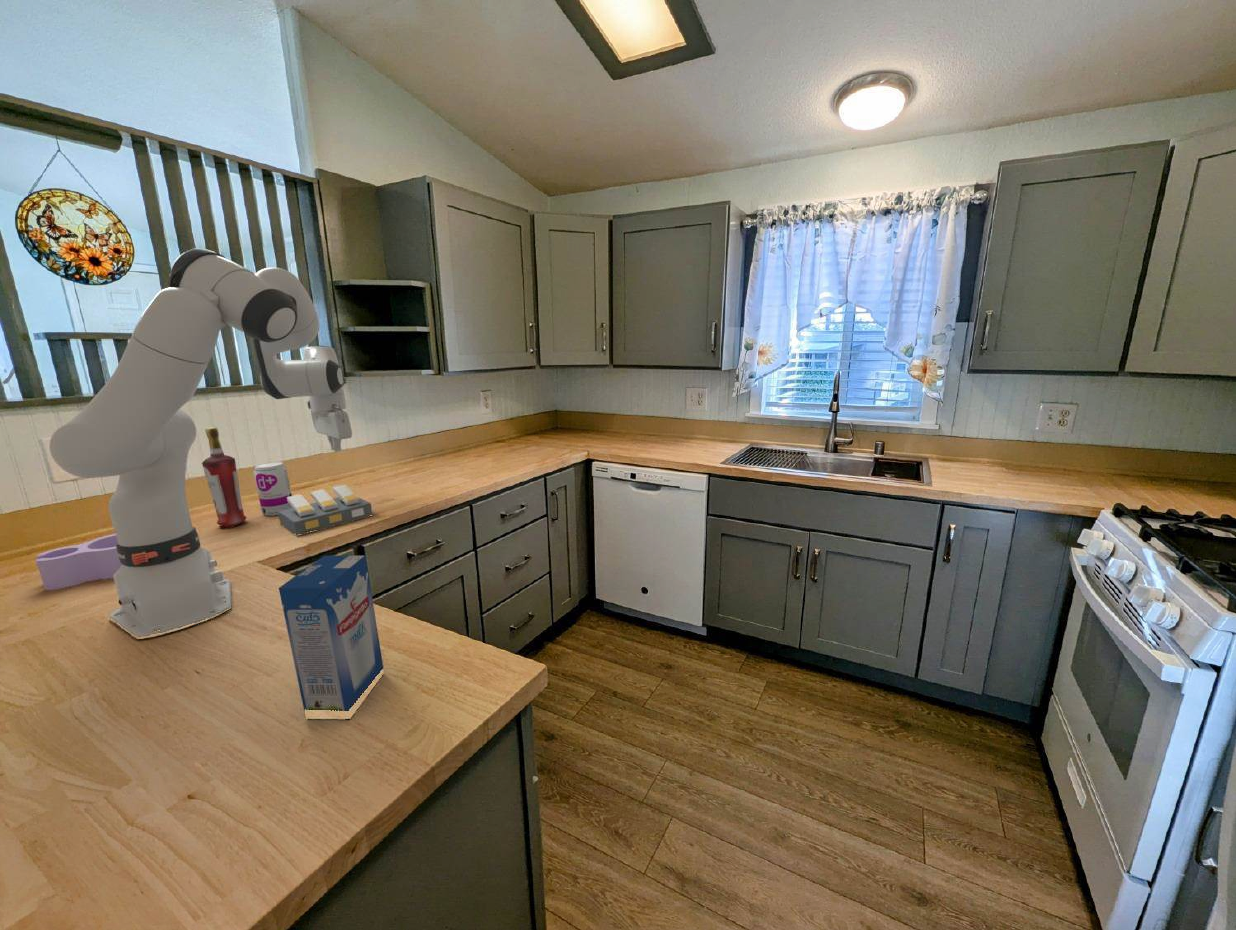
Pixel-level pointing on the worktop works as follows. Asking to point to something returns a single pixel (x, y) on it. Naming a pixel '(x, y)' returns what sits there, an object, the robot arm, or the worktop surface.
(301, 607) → the milk carton
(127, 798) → the worktop surface
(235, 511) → the liquor
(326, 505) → the rocker
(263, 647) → the worktop surface
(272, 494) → the supplement can
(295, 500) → the rocker
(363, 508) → the switch housing
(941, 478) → the worktop surface
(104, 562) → the lavender double cup holder
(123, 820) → the worktop surface
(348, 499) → the rocker
